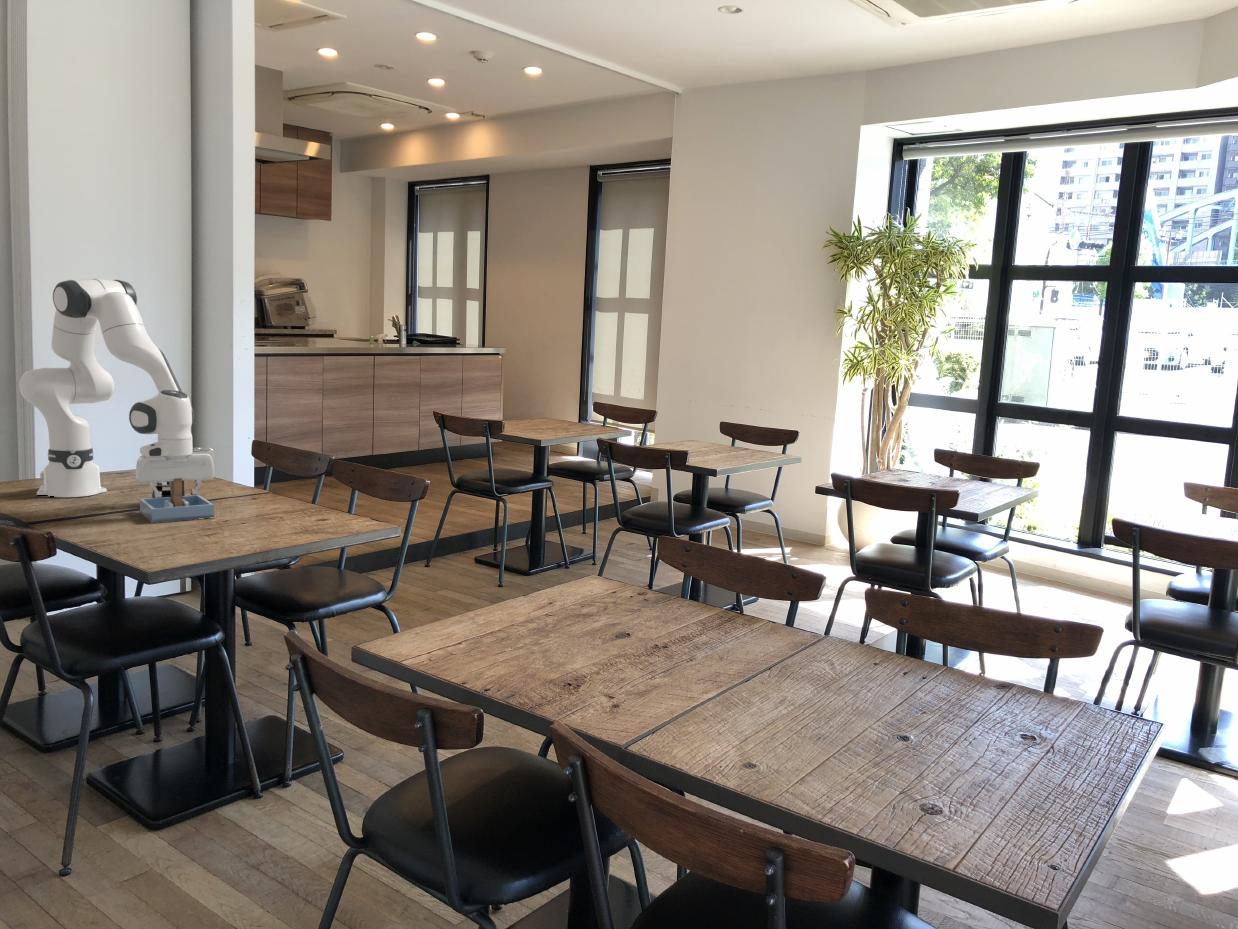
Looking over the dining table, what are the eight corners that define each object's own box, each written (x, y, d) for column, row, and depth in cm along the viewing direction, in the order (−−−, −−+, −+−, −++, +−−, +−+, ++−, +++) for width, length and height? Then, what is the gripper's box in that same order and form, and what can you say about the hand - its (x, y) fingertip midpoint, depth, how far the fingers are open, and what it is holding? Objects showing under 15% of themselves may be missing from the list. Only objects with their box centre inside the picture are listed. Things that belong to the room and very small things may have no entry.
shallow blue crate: (140, 512, 265) (139, 499, 264) (199, 508, 275) (199, 495, 274) (152, 523, 253) (152, 509, 252) (214, 518, 262) (213, 504, 262)
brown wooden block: (170, 510, 265) (170, 476, 263) (178, 510, 266) (177, 476, 265) (175, 514, 261) (174, 479, 259) (182, 513, 262) (182, 478, 261)
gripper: (211, 445, 270) (212, 491, 272) (133, 448, 257) (135, 496, 259) (217, 448, 265) (217, 495, 267) (138, 451, 252) (139, 500, 254)
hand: (176, 496), depth 263 cm, fingers open, 8 cm apart
